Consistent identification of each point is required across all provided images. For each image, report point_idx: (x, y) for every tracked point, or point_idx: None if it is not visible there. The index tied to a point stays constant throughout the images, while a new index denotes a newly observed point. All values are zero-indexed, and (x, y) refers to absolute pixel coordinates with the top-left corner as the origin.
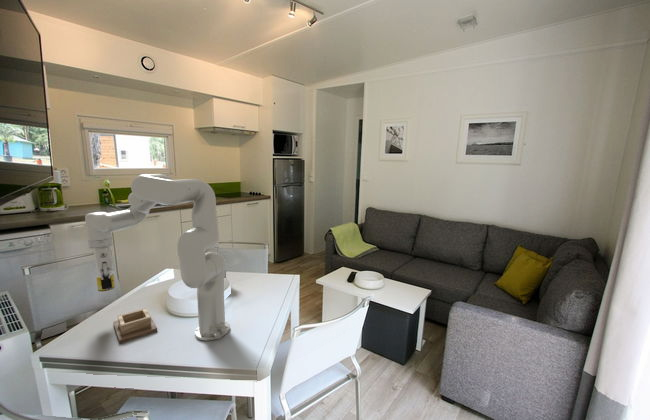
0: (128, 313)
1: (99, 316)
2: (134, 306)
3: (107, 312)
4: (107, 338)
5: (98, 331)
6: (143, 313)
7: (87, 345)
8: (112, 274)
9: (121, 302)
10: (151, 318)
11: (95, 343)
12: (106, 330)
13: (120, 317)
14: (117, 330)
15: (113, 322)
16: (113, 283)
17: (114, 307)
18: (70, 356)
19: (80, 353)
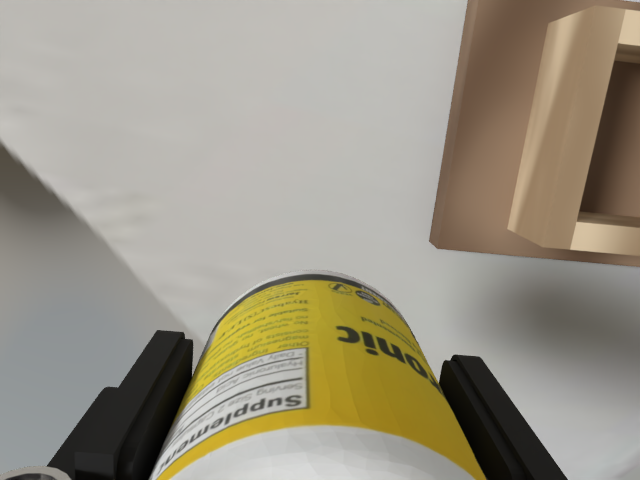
0: (574, 166)
1: (193, 287)
2: (191, 27)
3: (157, 230)
4: (583, 305)
5: (440, 329)
6: (632, 50)
7: (568, 399)
8: (451, 463)
9: (7, 94)
10: (634, 4)
11: (583, 365)
12: (468, 290)
13: (594, 236)
14: (600, 255)
15: (444, 248)
16: (390, 326)
17: (88, 167)
18: (612, 470)
19: (625, 433)
